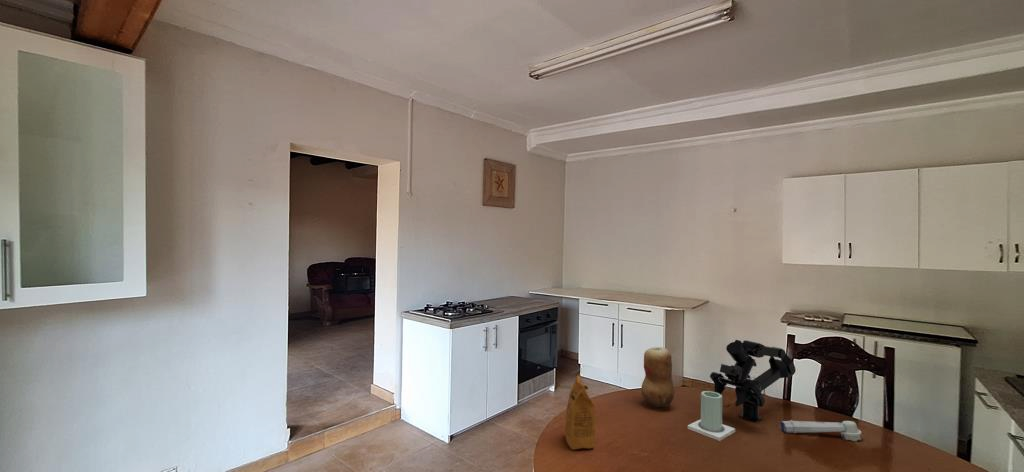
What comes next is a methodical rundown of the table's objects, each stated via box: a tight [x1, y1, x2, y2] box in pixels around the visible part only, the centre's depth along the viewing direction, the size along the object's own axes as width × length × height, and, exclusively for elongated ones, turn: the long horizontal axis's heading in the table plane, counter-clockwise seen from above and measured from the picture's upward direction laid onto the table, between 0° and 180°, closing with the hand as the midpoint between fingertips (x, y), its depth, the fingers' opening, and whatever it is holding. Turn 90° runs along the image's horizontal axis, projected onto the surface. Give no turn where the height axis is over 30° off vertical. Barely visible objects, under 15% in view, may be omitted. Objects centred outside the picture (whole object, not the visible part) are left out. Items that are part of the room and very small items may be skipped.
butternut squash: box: [640, 346, 676, 408], centre depth 177 cm, size 14×13×25 cm
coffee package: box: [564, 375, 597, 450], centre depth 144 cm, size 10×12×22 cm
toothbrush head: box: [779, 419, 862, 442], centre depth 152 cm, size 5×7×25 cm
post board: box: [687, 418, 736, 442], centre depth 155 cm, size 12×12×5 cm
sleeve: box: [700, 390, 723, 431], centre depth 155 cm, size 7×7×12 cm
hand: (725, 402), depth 158 cm, fingers open, 9 cm apart
